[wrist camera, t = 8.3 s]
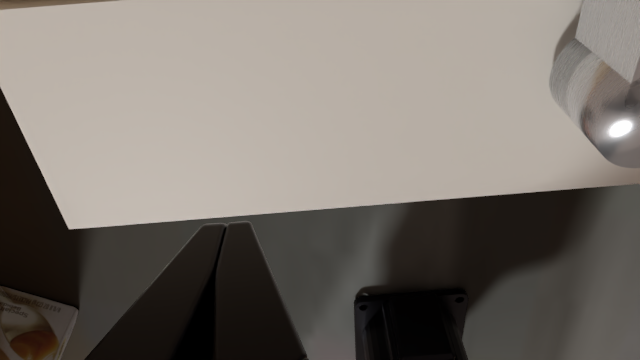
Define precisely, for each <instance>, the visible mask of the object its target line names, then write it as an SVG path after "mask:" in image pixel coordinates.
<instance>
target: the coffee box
mask: <svg viewBox="0 0 640 360" xmlns="http://www.w3.org/2000/svg"><path fill="white" fill-rule="evenodd" d="M77 315H78V309H76V308H75V307H72V306H69V305H65V304H62V303H59V302H55V301H52V300H48V299H45V298H42V297H38V296H35V295H31V294H28V293H24V292H21V291H17V290H14V289H10V288H7V287H3V286H0V360H60V359H61V357H62V354H63V352H64V349H65V347H66V345H67V342H68V340H69V337H70V335H71V332H72V330H73V327H74V324H75V321H76V318H77Z"/></svg>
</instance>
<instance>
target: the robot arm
mask: <svg viewBox="0 0 640 360" xmlns="http://www.w3.org/2000/svg"><path fill="white" fill-rule="evenodd" d="M467 304H468V296H467V293H466V291H465V290H464V289H449V290H436V291H424V292H411V293H399V294H387V295H374V296H362V297H359V298H357V299H356V300H355V301H354V320H355V350H356V360H468V358H467V355H466V351H465V348H464V345H463V342H462V334H463V328H464V322H465V316H466V310H467ZM84 360H309V359H307V354H306V352H305V350H304V347H303V345H302V343H301V340H300V338H299V335H298V333H297V331H296V328H295V326H294V324H293V321H292V319H291V316H290V314H289V312H288V309H287V307H286V305H285V302H284V300H283V297H282V295H281V293H280V290H279V288H278V286H277V283H276V281H275V278H274V276H273V274H272V271H271V269H270V267H269V264H268V262H267V259H266V257H265V255H264V252H263V250H262V248H261V245H260V243H259V240H258V238H257V236H256V233H255V231H254V229H253V226H252V224H251V223H250V222H249V221H243V222H230V223H229V224H227V225H226V224H225V223H213V224H204V225H202V226H201V227H200V228H199V229H198V230H197V232H196V233H195V234H194V235H193V236H192V237H191V238H190V240H189V241H188V242H187V243H186V244H185V245H184V246H183V248H182V249H181V250H180V251H179V252H178V253H177V254H176V256H175V257H174V258H173V259H172V260H171V261H170V262H169V264H168V265H167V266H166V267H165V268H164V269H163V270H162V272H161V273H160V274H159V275H158V276H157V277H156V278H155V280H154V281H153V282H152V283H151V284H150V285H149V286H148V288H147V289H146V290H145V291H144V292H143V293H142V294H141V296H140V297H139V298H138V299H137V300H136V301H135V302H134V303H133V305H132V306H131V307H130V308H129V309H128V310H127V311H126V313H125V314H124V315H123V316H122V317H121V318H120V319H119V321H118V322H117V323H116V324H115V325H114V326H113V327H112V329H111V330H110V331H109V332H108V333H107V334H106V335H105V337H104V338H103V339H102V340H101V341H100V342H99V343H98V345H97V346H96V347H95V348H94V349H93V350H92V351H91V353H90V354H89V355H88V356H87V357H86V358H85V359H84Z"/></svg>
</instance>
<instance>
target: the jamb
mask: <svg viewBox="0 0 640 360" xmlns="http://www.w3.org/2000/svg"><path fill="white" fill-rule="evenodd" d="M583 1H584V0H0V87H1V89H2V92H3V94H4V96H5V98H6V100H7V102H8V104H9V106H10V108H11V110H12V112H13V114H14V116H15V118H16V121H17V123H18V125H19V127H20V129H21V131H22V133H23V135H24V137H25V139H26V141H27V143H28V145H29V148H30V150H31V152H32V154H33V156H34V158H35V160H36V162H37V164H38V166H39V168H40V170H41V172H42V175H43V177H44V179H45V181H46V183H47V185H48V187H49V189H50V191H51V193H52V195H53V197H54V199H55V201H56V204H57V206H58V208H59V210H60V212H61V214H62V216H63V218H64V220H65V222H66V224H67V226H68V228H69V229H81V228H93V227H106V226H118V225H131V224H143V223H156V222H168V221H180V220H193V219H205V218H218V217H230V216H243V215H255V214H268V213H280V212H293V211H305V210H317V209H330V208H342V207H355V206H367V205H380V204H392V203H405V202H417V201H430V200H442V199H455V198H467V197H479V196H492V195H504V194H517V193H529V192H542V191H554V190H567V189H579V188H592V187H604V186H617V185H629V184H640V168H625V167H620V166H617V165H614V164H612V163H611V162H609V161H608V160H607V159H605V158H604V157H603V155H602V154H601V153H600V152H599V151H598V150H597V149H596V148H595V146H594V145H593V144H592V143H591V142H590V141H589V140H588V138H587V137H586V136H585V135H584V134H583V133H582V132H581V131H580V129H579V128H578V127H577V126H576V125H575V124H574V123H573V122H572V120H571V119H570V118H569V117H568V116H567V115H566V114H565V113H564V111H563V110H562V109H561V108H560V107H559V106H558V105H557V103H556V102H555V101H554V99H553V98H552V95H551V93H550V88H549V79H550V73H551V70H552V67H553V65H554V62H555V60H556V59H557V57H558V55H559V54H560V53H561V51H562V50H563V49H564V48H565V46H566V45H567V44H568V43H569V42H570V41H571V40H573V39H574V38H575V35H576V31H577V27H578V22H579V18H580V14H581V9H582V5H583Z"/></svg>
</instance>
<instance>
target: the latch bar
mask: <svg viewBox="0 0 640 360" xmlns="http://www.w3.org/2000/svg"><path fill="white" fill-rule="evenodd" d="M549 88H550V93H551V95H552V98H553V99H554V101H555V102H556V103H557V105H558V106H559V107H560V108H561V109H562V110H563V111H564V113H565V114H566V115H567V116H568V117H569V118H570V119H571V120H572V122H573V123H574V124H575V125H576V126H577V127H578V128H579V129H580V131H581V132H582V133H583V134H584V135H585V136H586V137H587V138H588V140H589V141H590V142H591V143H592V144H593V145H594V146H595V148H596V149H597V150H598V151H599V152H600V153H601V154H602V155H603V157H604V158H605V159H607V160H608V161H609V162H611V163H612V164H614V165H617V166H620V167H625V168H640V0H584V1H583V5H582V9H581V14H580V18H579V22H578V27H577V31H576V35H575V38H574V39H573V40H571V41H570V42H569V43H568V44H567V45H566V46H565V48H564V49H563V50H562V51H561V53H560V54H559V55H558V57H557V59H556V60H555V62H554V65H553V67H552V70H551V73H550V79H549Z"/></svg>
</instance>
